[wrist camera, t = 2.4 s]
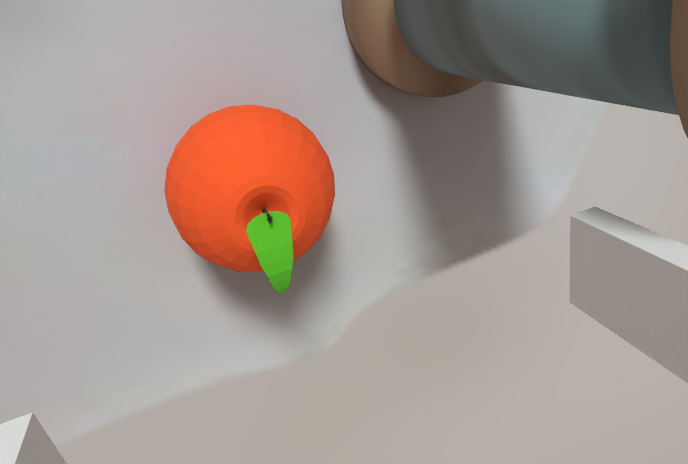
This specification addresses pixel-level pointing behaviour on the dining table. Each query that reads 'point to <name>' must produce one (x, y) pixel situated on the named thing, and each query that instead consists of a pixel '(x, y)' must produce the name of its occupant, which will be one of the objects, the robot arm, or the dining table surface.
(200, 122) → the clementine
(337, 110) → the dining table surface
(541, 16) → the bobbin
